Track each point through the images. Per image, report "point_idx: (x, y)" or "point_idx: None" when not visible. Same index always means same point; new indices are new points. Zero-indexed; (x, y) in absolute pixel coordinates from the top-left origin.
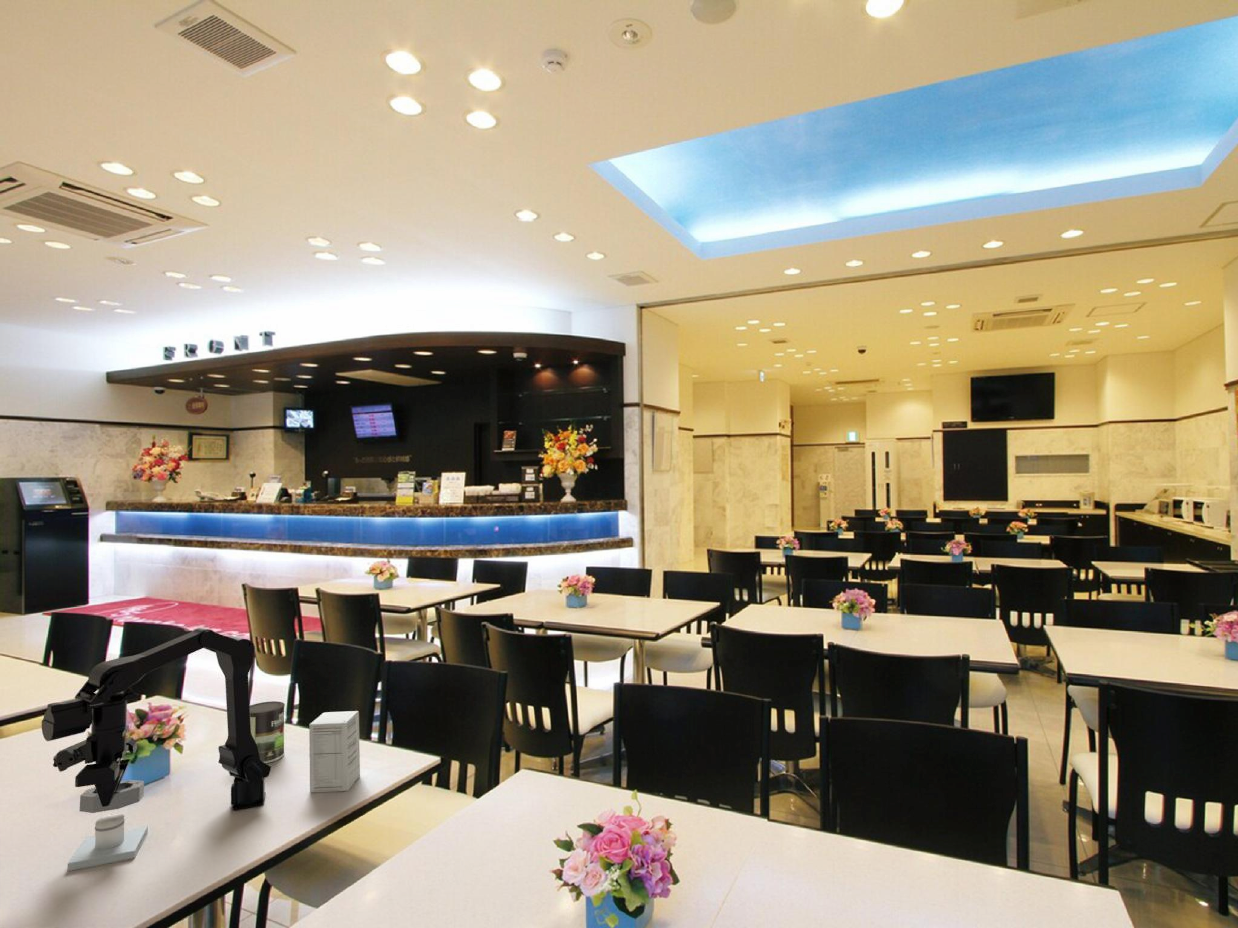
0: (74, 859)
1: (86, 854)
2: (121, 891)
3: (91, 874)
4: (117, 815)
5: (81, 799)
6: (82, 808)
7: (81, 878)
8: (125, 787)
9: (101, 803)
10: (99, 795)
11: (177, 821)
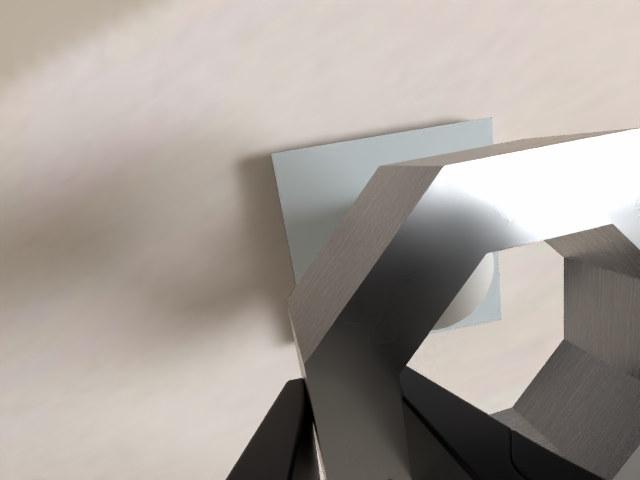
0: (297, 165)
1: (328, 194)
2: (93, 393)
3: (226, 251)
4: (469, 289)
5: (407, 185)
6: (364, 198)
7: (205, 230)
8: (624, 381)
9: (279, 397)
10: (242, 464)
11: (537, 370)
